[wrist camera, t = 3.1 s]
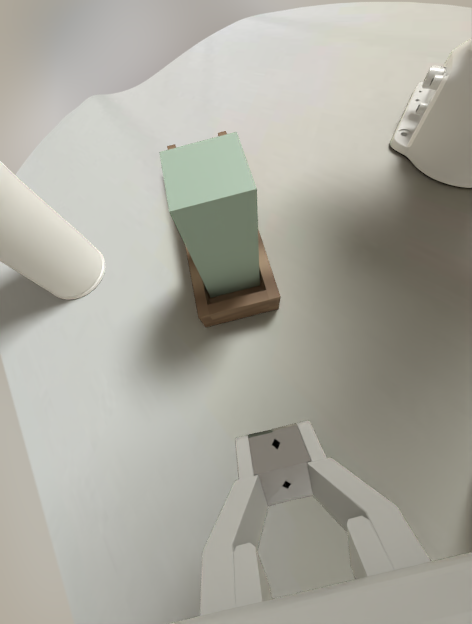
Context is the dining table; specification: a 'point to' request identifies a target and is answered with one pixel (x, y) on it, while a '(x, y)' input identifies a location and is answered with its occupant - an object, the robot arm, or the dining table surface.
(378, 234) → the dining table surface
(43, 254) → the spray can
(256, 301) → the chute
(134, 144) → the dining table surface
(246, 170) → the block
